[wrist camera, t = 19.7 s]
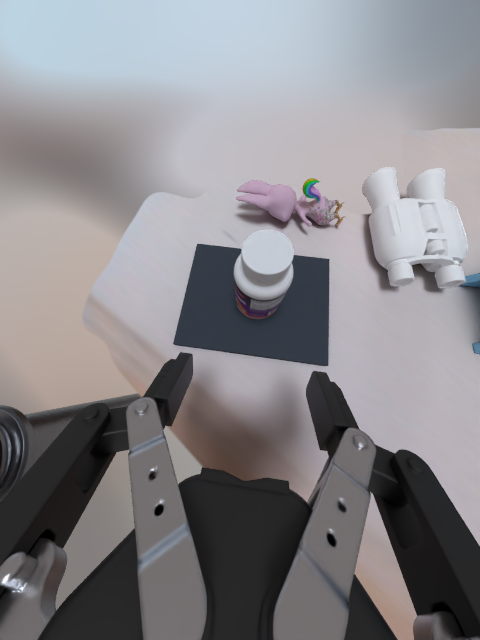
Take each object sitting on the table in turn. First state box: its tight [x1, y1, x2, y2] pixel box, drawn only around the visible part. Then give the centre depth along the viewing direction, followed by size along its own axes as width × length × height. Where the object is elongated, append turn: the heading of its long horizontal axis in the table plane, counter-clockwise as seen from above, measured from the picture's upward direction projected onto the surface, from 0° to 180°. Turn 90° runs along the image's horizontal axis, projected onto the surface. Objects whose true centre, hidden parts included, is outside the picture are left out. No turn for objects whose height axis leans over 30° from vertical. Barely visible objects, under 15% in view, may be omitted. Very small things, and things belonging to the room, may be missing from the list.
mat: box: [173, 244, 329, 366], centre depth 24 cm, size 18×14×1 cm
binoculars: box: [362, 167, 468, 288], centre depth 24 cm, size 10×16×5 cm, turn 177°
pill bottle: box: [234, 229, 294, 319], centre depth 19 cm, size 5×5×10 cm
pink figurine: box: [236, 178, 345, 227], centre depth 25 cm, size 6×6×15 cm
